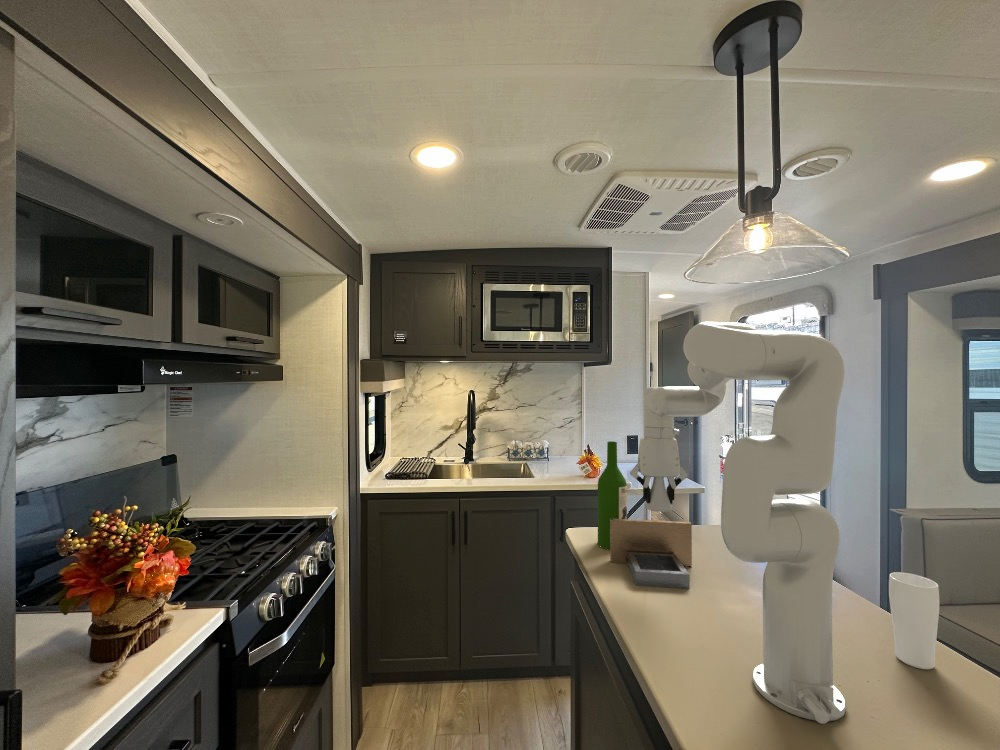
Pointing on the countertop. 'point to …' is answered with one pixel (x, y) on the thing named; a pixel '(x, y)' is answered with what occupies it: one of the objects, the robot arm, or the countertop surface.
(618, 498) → the wine bottle
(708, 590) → the countertop surface
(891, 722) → the countertop surface
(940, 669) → the countertop surface
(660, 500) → the flask
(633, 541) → the cup bracket
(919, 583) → the drinking glass
